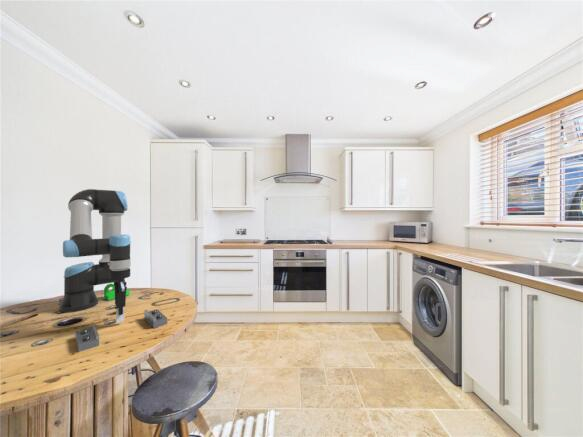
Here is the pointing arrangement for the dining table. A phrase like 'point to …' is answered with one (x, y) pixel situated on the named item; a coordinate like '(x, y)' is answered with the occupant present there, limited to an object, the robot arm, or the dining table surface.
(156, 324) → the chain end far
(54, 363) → the dining table surface
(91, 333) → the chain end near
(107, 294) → the mechanical part
